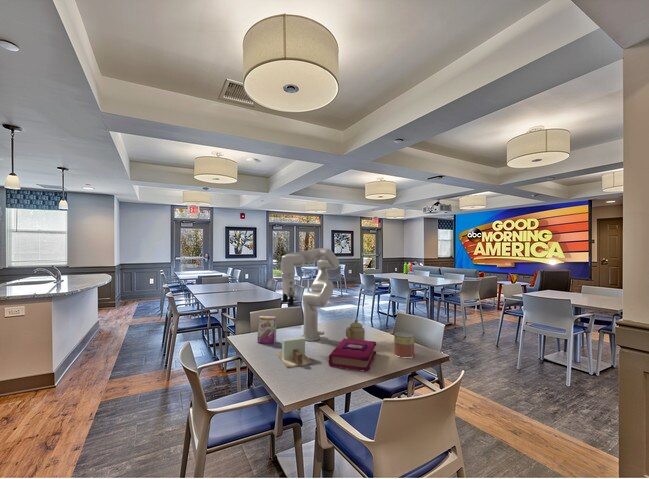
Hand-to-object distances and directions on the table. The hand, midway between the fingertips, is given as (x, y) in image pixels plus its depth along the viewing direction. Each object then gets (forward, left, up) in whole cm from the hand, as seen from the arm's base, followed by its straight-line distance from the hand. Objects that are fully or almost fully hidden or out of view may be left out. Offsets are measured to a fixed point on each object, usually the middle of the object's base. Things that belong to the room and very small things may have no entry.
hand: (288, 303), depth 183 cm
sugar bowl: (-44, +6, -27) cm, 52 cm away
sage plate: (+2, +17, -26) cm, 31 cm away
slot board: (+2, +17, -27) cm, 32 cm away
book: (-29, +31, -28) cm, 50 cm away
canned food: (-59, +36, -27) cm, 74 cm away
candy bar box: (+9, -16, -27) cm, 33 cm away
